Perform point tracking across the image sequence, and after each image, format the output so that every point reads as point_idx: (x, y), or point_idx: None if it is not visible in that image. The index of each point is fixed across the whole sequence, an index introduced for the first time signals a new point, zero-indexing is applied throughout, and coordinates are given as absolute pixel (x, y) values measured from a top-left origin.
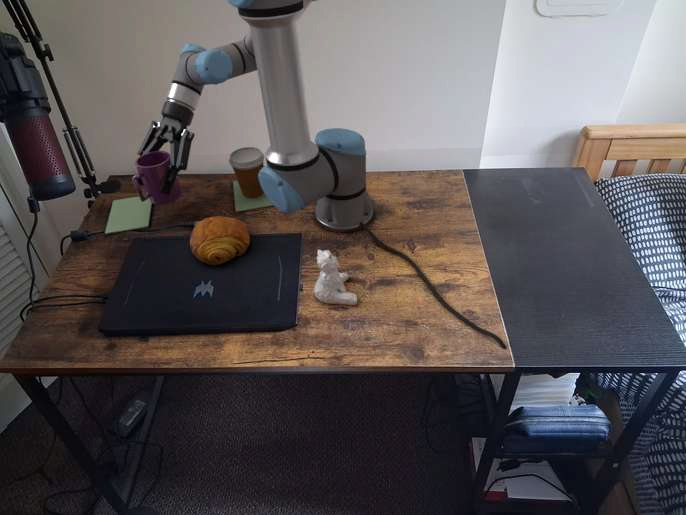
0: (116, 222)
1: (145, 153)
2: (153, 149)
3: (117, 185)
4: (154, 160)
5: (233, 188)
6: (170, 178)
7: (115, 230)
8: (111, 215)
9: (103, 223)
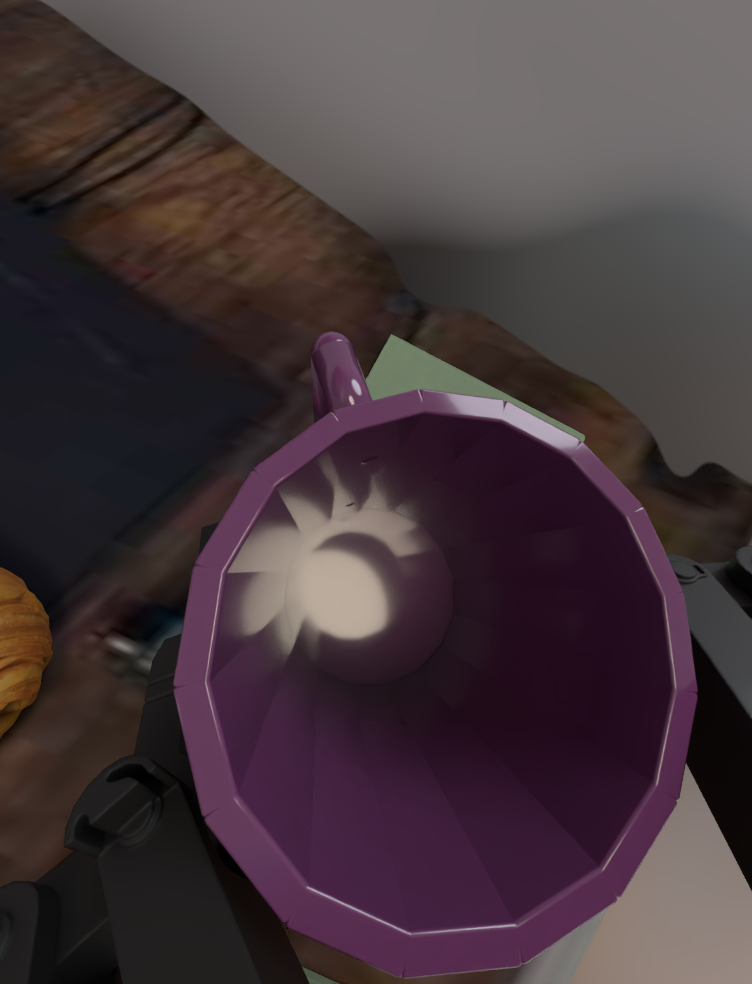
0: (430, 387)
1: (708, 619)
2: (742, 761)
3: (688, 491)
4: (575, 663)
5: (316, 981)
6: (165, 664)
7: (382, 365)
8: (487, 392)
9: (463, 359)
